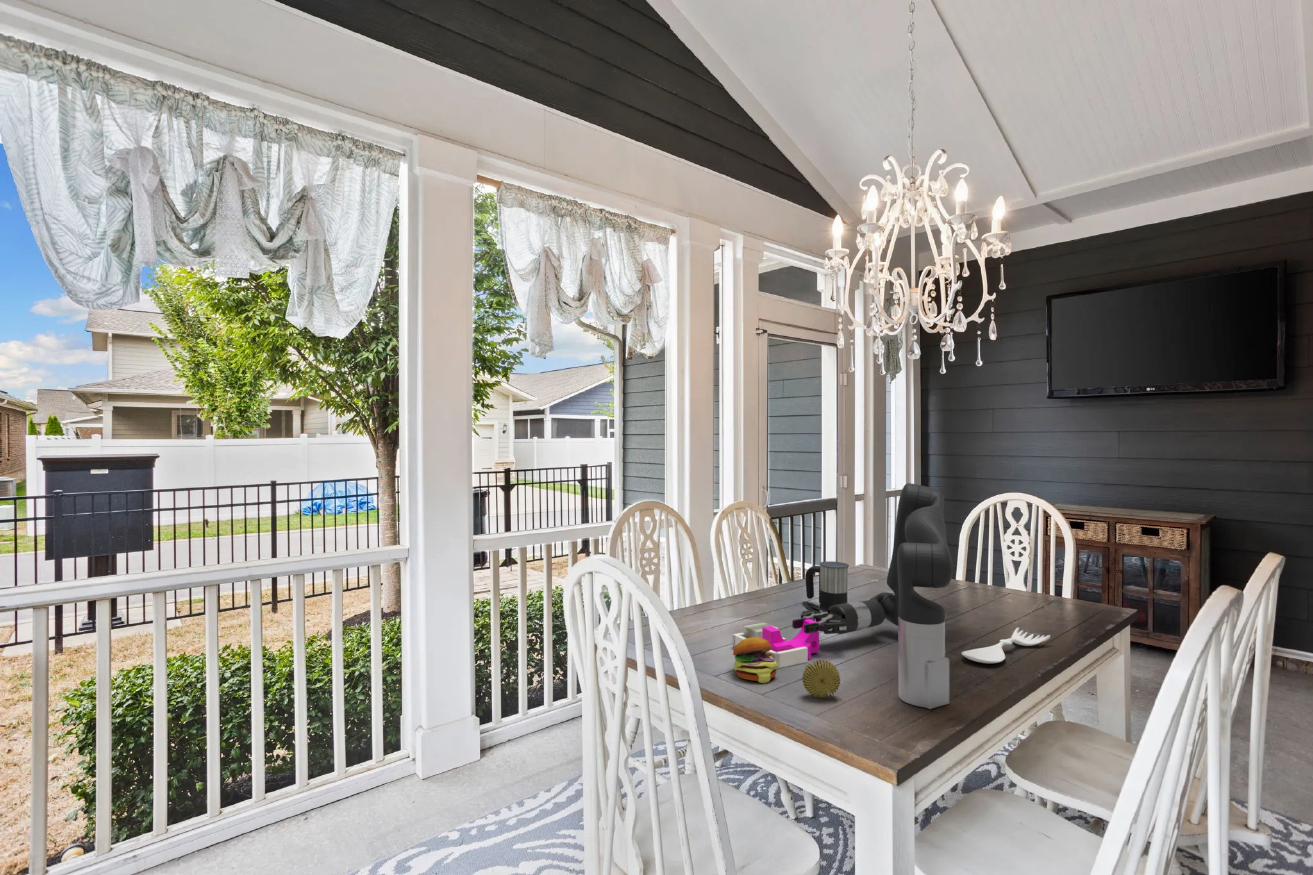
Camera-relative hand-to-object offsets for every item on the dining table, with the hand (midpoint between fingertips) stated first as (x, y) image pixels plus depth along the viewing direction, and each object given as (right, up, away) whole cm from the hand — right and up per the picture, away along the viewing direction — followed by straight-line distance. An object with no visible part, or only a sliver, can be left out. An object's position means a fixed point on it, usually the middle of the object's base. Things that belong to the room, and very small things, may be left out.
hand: (799, 626), depth 168 cm
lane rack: (-8, -7, 0) cm, 11 cm away
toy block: (-2, -7, -2) cm, 7 cm away
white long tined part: (+53, -7, +1) cm, 54 cm away
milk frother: (+17, -7, +40) cm, 44 cm away
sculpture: (-1, -8, -27) cm, 28 cm away
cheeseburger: (-14, -8, -14) cm, 21 cm away
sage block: (-9, -7, +4) cm, 12 cm away
